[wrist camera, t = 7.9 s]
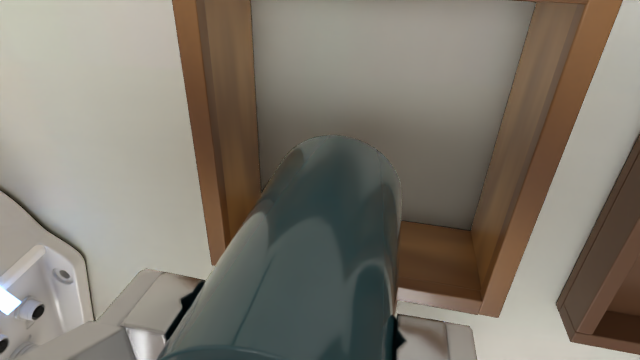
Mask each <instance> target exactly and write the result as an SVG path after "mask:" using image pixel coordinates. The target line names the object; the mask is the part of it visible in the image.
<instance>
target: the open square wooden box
mask: <svg viewBox="0 0 640 360" xmlns="http://www.w3.org/2000/svg"><path fill="white" fill-rule="evenodd" d="M514 1H532V2H536V5H535V9H534V12H533V16H532V19H531V23H530V26H529V30H528V33H527V37H526V40H525V44H524V47H523V50H522V54H521V57H520V61H519V64H518V68H517V71H516V75H515V78H514V82H513V85H512V89H511V92H510V95H509V99H508V102H507V106H506V109H505V113H504V116H503V120H502V123H501V127H500V130H499V133H498V137H497V140H496V144H495V147H494V151H493V154H492V158H491V161H490V165H489V168H488V172H487V175H486V178H485V182H484V185H483V189H482V192H481V196H480V199H479V203H478V206H477V210H476V213H475V217H474V220H473V223H472V227H471V231H467V230H460V229H454V228H447V227H441V226H434V225H427V224H421V223H414V222H408V221H401V233H400V256H399V278H398V300H399V301H405V302H410V303H416V304H421V305H427V306H432V307H437V308H443V309H448V310H454V311H459V312H464V313H470V314H475V315H478V314H480V315H485V316H490V317H496V318H498V317H499V315H500V312H501V310H502V307H503V304H504V302H505V299H506V297H507V294H508V292H509V289H510V287H511V284H512V282H513V279H514V276H515V274H516V271H517V269H518V266H519V264H520V261H521V259H522V256H523V254H524V251H525V248H526V246H527V243H528V241H529V238H530V236H531V233H532V231H533V228H534V225H535V223H536V220H537V218H538V215H539V213H540V210H541V208H542V205H543V203H544V200H545V197H546V195H547V192H548V190H549V187H550V185H551V182H552V180H553V177H554V175H555V172H556V169H557V167H558V164H559V162H560V159H561V157H562V154H563V152H564V149H565V146H566V144H567V141H568V139H569V136H570V134H571V131H572V129H573V126H574V124H575V121H576V118H577V116H578V113H579V111H580V108H581V106H582V103H583V101H584V98H585V96H586V93H587V90H588V88H589V85H590V83H591V80H592V78H593V75H594V73H595V70H596V67H597V65H598V62H599V60H600V57H601V55H602V52H603V50H604V47H605V45H606V42H607V39H608V37H609V34H610V32H611V29H612V27H613V24H614V22H615V19H616V17H617V14H618V11H619V9H620V6H621V4H622V1H623V0H514ZM172 4H173V10H174V17H175V24H176V30H177V37H178V44H179V50H180V57H181V64H182V70H183V77H184V84H185V90H186V97H187V104H188V110H189V117H190V124H191V130H192V137H193V144H194V150H195V157H196V164H197V170H198V177H199V184H200V190H201V197H202V204H203V210H204V217H205V224H206V230H207V237H208V244H209V250H210V257H211V264H212V265H214V266H215V265H216V264H217V262H218V261H219V259H220V257H221V256H222V254H223V253H224V251H225V250H226V248H227V246H228V245H229V243H230V242H231V240H232V239H233V237H234V235H235V234H236V232H237V231H238V229H239V228H240V226H241V224H242V223H243V221H244V220H245V218H246V217H247V215H248V213H249V212H250V210H251V209H252V207H253V206H254V204H255V203H256V201H257V199H258V198H259V196H260V195H261V184H260V167H259V149H258V131H257V113H256V95H255V77H254V59H253V41H252V24H251V6H250V0H172Z"/></svg>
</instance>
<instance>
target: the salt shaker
mask: <svg viewBox="0 0 640 360" xmlns="http://www.w3.org/2000/svg"><path fill="white" fill-rule="evenodd" d="M401 211H402V188H401V184H400V180H399V177H398V175H397V173H396V171H395V169H394V167H393V166H392V164H391V163H390V162H389V161H388V159H387V158H386V157H385V156H384V155H383V154H382V153H380V152H379V151H378V150H376V149H375V148H374V147H372V146H370V145H369V144H367V143H365V142H363V141H360V140H358V139H354V138H351V137H346V136H341V135H326V136H319V137H314V138H311V139H309V140H306V141H304V142H302V143H300V144H298V145H297V146H296V147H294V148H293V149H292V150H291V151H290V152H289V153H288V154H287V155H286V156H285V157H284V159H283V160H282V162H281V163H280V165H279V166H278V168H277V170H276V171H275V173H274V174H273V176H272V177H271V179H270V181H269V182H268V184H267V185H266V187H265V188H264V190H263V192H262V193H261V195H260V196H259V198H258V199H257V201H256V203H255V204H254V206H253V207H252V209H251V210H250V212H249V213H248V215H247V217H246V218H245V220H244V221H243V223H242V224H241V226H240V228H239V229H238V231H237V232H236V234H235V235H234V237H233V239H232V240H231V242H230V243H229V245H228V246H227V248H226V250H225V251H224V253H223V254H222V256H221V257H220V259H219V261H218V262H217V264H216V265H215V267H214V268H213V270H212V272H211V273H210V275H209V276H208V278H207V279H206V281H205V283H204V284H203V286H202V287H201V289H200V290H199V292H198V293H197V295H196V297H195V298H194V300H193V301H192V303H191V304H190V306H189V308H188V309H187V311H186V312H185V314H184V315H183V317H182V319H181V320H180V322H179V323H178V325H177V326H176V328H175V330H174V331H173V333H172V334H171V336H170V337H169V339H168V341H167V342H166V344H165V345H164V347H163V348H162V350H161V352H160V353H159V355H158V356H157V358H156V359H155V360H395V329H396V317H397V301H398V278H399V256H400V233H401Z"/></svg>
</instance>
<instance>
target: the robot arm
mask: <svg viewBox="0 0 640 360" xmlns="http://www.w3.org/2000/svg"><path fill="white" fill-rule="evenodd" d="M204 283H205V280H202V279H197V278H192V277H188V276H183V275H178V274H173V273H168V272H162V271H157V270H152V269H147V268H146V269H144V270H142V271H140V272H139V273H138V274H137V275H136V276H135V277H134V279H133V280H132V281H131V282H130V283H129V284H128V285H127V287H126V288H125V289H124V290H123V291H122V292H121V293H120V295H119V296H118V297H117V298H116V299H115V300H114V302H113V303H112V304H111V305H110V306H109V307H108V308H107V310H106V311H105V312H104V313H103V314H102V315H101V316H100V318H99V319H98V320H97V321H94V320H93V313H92V306H91V299H90V293H89V286H88V279H87V273H86V266H85V261H84V259H83V257H82V256H81V254H80V253H79V252H78V251H76V250H75V249H74V248H73V247H71V246H70V245H68V244H67V243H65V242H64V241H62V240H61V239H59V238H57V237H56V236H54V235H52V234H51V233H49V232H48V231H46V230H45V229H44V228H43V227H42V226H41V225H40V224H38V223H37V222H36V221H35V220H34V219H33V218H32V217H31V216H30V215H29V214H28V213H27V212H26V211H25V210H24V209H23V208H22V207H21V206H20V205H18V204H17V203H16V202H15V201H14V200H12V199H11V198H10V197H8V196H7V195H6V194H4V193H3V192H2V191H0V360H155V359H156V358H157V356H158V355H159V353H160V352H161V350H162V348H163V347H164V345H165V344H166V342H167V341H168V339H169V337H170V336H171V334H172V333H173V331H174V330H175V328H176V326H177V325H178V323H179V322H180V320H181V319H182V317H183V315H184V314H185V312H186V311H187V309H188V308H189V306H190V304H191V303H192V301H193V300H194V298H195V297H196V295H197V293H198V292H199V290H200V289H201V287H202V286H203V284H204ZM395 360H477V356H476V350H475V344H474V338H473V332H472V329H471V328H470V326H466V325H460V324H454V323H449V322H443V321H438V320H432V319H426V318H420V317H414V316H408V315H402V314H397V317H396V329H395Z"/></svg>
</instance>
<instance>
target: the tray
mask: <svg viewBox="0 0 640 360" xmlns="http://www.w3.org/2000/svg"><path fill="white" fill-rule="evenodd" d="M556 306H557V309H558V311H559V314H560V316H561V319H562V321H563V324H564V327H565V329H566V332H567V334H568V337H569V340H570V341H571V342H574V343H580V344H585V345H590V346H596V347H601V348H606V349H611V350H617V351H622V352H627V353H633V354H638V355H640V135H639V137H638V139H637V141H636V143H635V145H634V147H633V149H632V151H631V153H630V155H629V157H628V159H627V161H626V163H625V165H624V167H623V169H622V171H621V173H620V175H619V177H618V179H617V181H616V184H615V186H614V188H613V190H612V192H611V194H610V196H609V198H608V200H607V202H606V204H605V206H604V208H603V210H602V212H601V214H600V216H599V218H598V220H597V222H596V224H595V226H594V228H593V230H592V232H591V234H590V236H589V238H588V240H587V242H586V244H585V247H584V249H583V251H582V253H581V255H580V257H579V259H578V261H577V263H576V265H575V267H574V269H573V271H572V273H571V275H570V277H569V279H568V281H567V283H566V285H565V287H564V289H563V291H562V293H561V295H560V297H559V299H558V301H557V303H556Z"/></svg>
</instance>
